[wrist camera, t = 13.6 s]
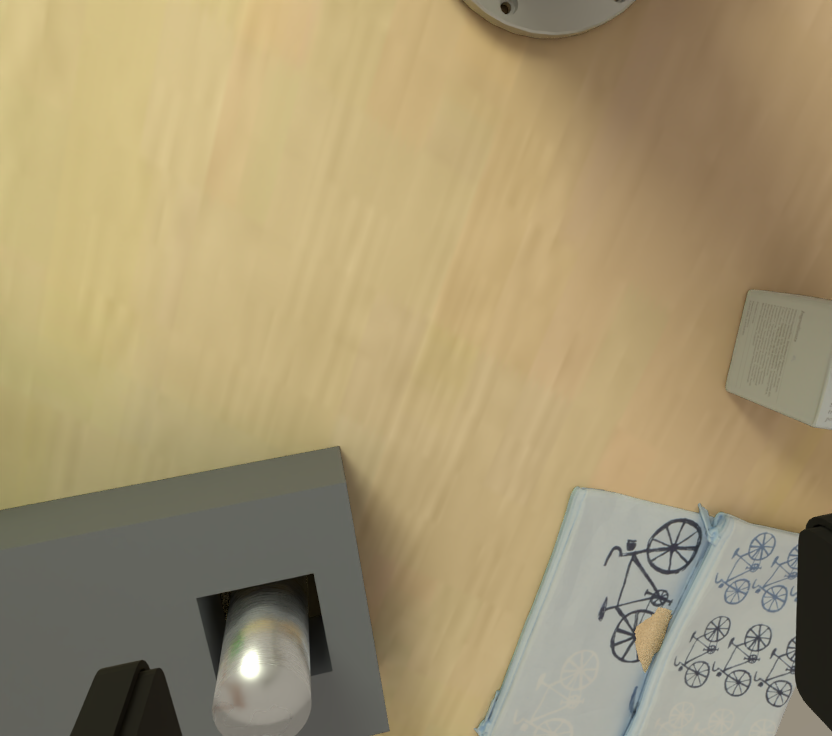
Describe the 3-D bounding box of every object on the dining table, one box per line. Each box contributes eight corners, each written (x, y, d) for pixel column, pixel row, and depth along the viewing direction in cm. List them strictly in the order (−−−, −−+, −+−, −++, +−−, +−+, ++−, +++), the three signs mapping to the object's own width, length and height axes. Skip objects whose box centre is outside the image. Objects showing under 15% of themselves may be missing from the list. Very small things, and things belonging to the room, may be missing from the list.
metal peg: (300, 540, 38) (302, 655, 29) (312, 604, 39) (318, 735, 30) (226, 555, 38) (202, 677, 28) (240, 620, 39) (223, 758, 29)
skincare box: (721, 390, 41) (811, 430, 33) (746, 286, 39) (846, 305, 32) (811, 400, 42) (917, 441, 35) (839, 300, 40) (954, 320, 33)
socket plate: (339, 446, 37) (345, 482, 32) (378, 668, 41) (389, 730, 36) (-104, 530, 34) (-168, 583, 30) (-21, 761, 38) (-66, 843, 33)
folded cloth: (730, 781, 48) (750, 807, 46) (463, 737, 44) (471, 764, 42) (845, 535, 45) (872, 551, 43) (570, 460, 41) (584, 474, 38)
